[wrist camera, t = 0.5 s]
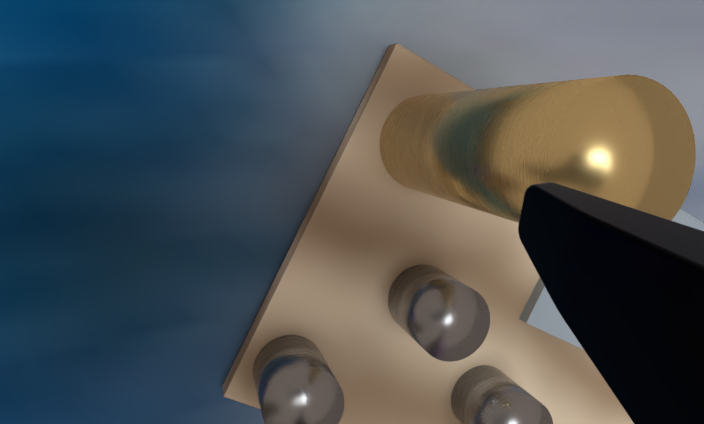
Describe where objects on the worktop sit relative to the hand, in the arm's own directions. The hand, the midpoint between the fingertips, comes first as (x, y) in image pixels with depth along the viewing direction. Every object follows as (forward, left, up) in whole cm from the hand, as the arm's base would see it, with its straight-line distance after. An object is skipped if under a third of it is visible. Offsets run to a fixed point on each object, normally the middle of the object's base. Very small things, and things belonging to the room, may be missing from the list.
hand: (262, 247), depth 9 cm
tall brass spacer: (+5, -7, -15) cm, 17 cm away
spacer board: (0, -14, -16) cm, 21 cm away
